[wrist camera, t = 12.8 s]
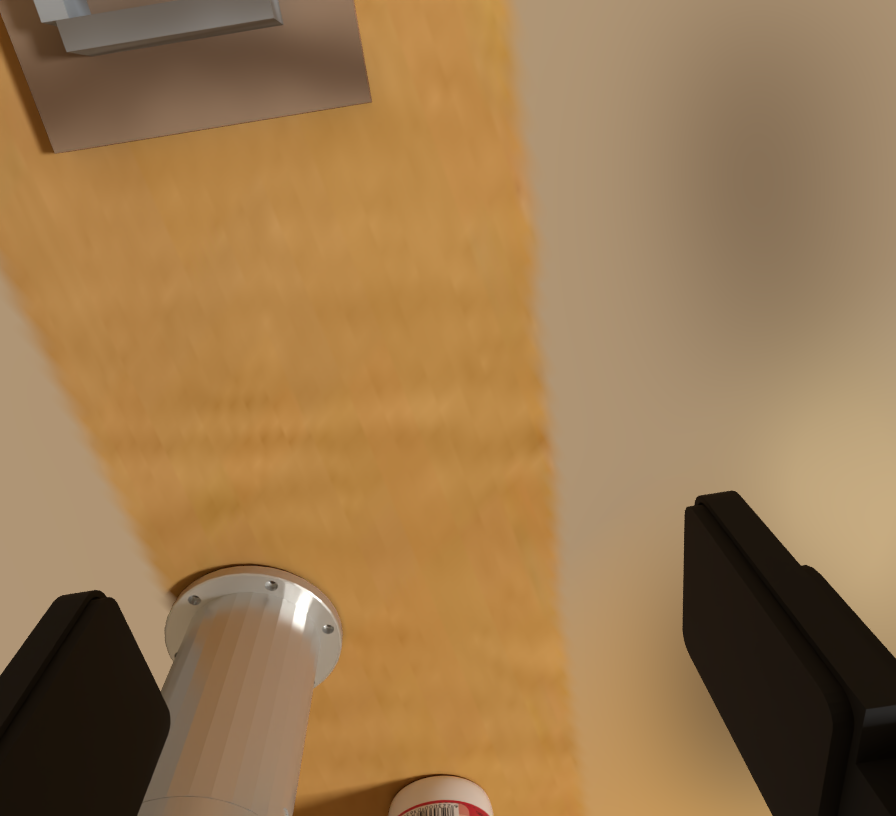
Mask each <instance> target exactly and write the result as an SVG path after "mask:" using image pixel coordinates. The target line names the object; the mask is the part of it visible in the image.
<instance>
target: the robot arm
mask: <svg viewBox="0 0 896 816" xmlns="http://www.w3.org/2000/svg"><path fill="white" fill-rule="evenodd" d="M342 636H343V632H342V625H341V620H340V618H339V615H338V613H337V611H336V609H335V607H334V606H333V604H332V603H331V602H330V600H329V599H328V598H327V597H326V596H325V595H324V594H323V593H322V592H321V591H320V590H319V589H318V588H317V587H315V586H314V585H312V584H311V583H309V582H308V581H306V580H305V579H303V578H300V577H298V576H296V575H294V574H291V573H289V572H286V571H282V570H278V569H275V568H270V567H261V566H236V567H230V568H225V569H220V570H217V571H215V572H212V573H209V574H206V575H204V576H203V577H201V578H199V579H197V580H196V581H194V582H192V583H191V584H190V585H189V586H188V587H187V588H186V589H185V590H183V591H182V592H181V594H180V595H179V597H178V598H177V599H176V601H175V602H174V604H173V606H172V609H171V611H170V613H169V615H168V617H167V621H166V626H165V643H166V646H167V649H168V653H169V655H170V657H171V659H172V660H173V664H172V667H171V669H170V671H169V674H168V676H167V678H166V681H165V683H164V685H163V688H162V690H161V692H160V690H159V688H158V686H157V684H156V682H155V679H154V677H153V675H152V673H151V671H150V669H149V667H148V665H147V663H146V661H145V659H144V657H143V655H142V653H141V651H140V649H139V647H138V645H137V643H136V641H135V639H134V636H133V634H132V632H131V630H130V628H129V626H128V624H127V622H126V620H125V618H124V616H123V614H122V612H121V610H120V608H119V606H118V604H117V602H116V601H115V599H113V598H110V597H106V596H105V594H104V593H103V592H101V591H98V590H94V591H87V592H80V593H74V594H68V595H62V596H60V597H58V598H57V599H56V600H55V601H54V602H53V603H52V605H51V606H50V607H49V609H48V610H47V612H46V613H45V614H44V616H43V617H42V618H41V620H40V621H39V623H38V624H37V625H36V627H35V628H34V630H33V631H32V632H31V634H30V635H29V636H28V638H27V639H26V641H25V642H24V643H23V645H22V646H21V648H20V649H19V650H18V652H17V653H16V655H15V656H14V658H13V659H12V660H11V662H10V663H9V664H8V666H7V667H6V668H5V670H4V671H3V673H2V674H1V675H0V816H293V810H294V804H295V798H296V792H297V786H298V779H299V773H300V767H301V761H302V755H303V749H304V743H305V736H306V730H307V724H308V718H309V712H310V706H311V699H312V693H313V689H314V688H315V687H316V686H318V685H319V684H320V683H321V682H323V681H324V680H325V679H326V678H327V677H328V676H329V674H330V673H331V672H332V671H333V669H334V667H335V665H336V664H337V662H338V660H339V656H340V652H341V647H342ZM683 637H684V641H685V645H686V648H687V651H688V653H689V655H690V657H691V659H692V661H693V663H694V665H695V666H696V668H697V670H698V672H699V674H700V676H701V678H702V680H703V682H704V684H705V686H706V688H707V690H708V692H709V693H710V695H711V697H712V699H713V701H714V703H715V705H716V707H717V709H718V711H719V713H720V715H721V717H722V719H723V720H724V722H725V725H726V726H727V728H728V730H729V732H730V734H731V736H732V738H733V740H734V742H735V744H736V746H737V748H738V749H739V751H740V753H741V755H742V757H743V759H744V761H745V763H746V765H747V766H748V769H749V771H750V773H751V775H752V777H753V779H754V781H755V782H756V784H757V786H758V788H759V790H760V792H761V794H762V796H763V798H764V800H765V802H766V804H767V806H768V807H769V809H770V811H771V813H772V815H773V816H896V658H895V657H894V656H893V655H892V654H891V653H890V652H889V651H888V650H887V648H886V647H885V646H884V645H883V644H882V643H881V642H880V641H879V639H878V638H877V637H876V636H875V635H874V634H873V633H872V632H871V630H870V629H869V628H868V627H867V626H866V625H865V624H864V622H862V620H861V619H860V618H859V617H858V616H857V615H856V613H855V612H854V611H853V610H852V609H851V608H850V607H849V606H848V605H847V604H846V602H845V601H844V600H843V599H842V598H841V597H840V596H839V594H838V593H837V592H836V591H835V590H834V589H833V588H832V587H831V586H830V584H829V583H828V582H827V581H826V580H825V579H824V578H823V576H822V575H821V574H820V573H818V572H817V571H816V570H815V569H814V568H812V567H810V566H807V565H803V566H801V565H800V564H799V563H798V562H797V561H796V560H795V558H794V557H793V556H792V555H791V554H790V553H789V551H787V549H786V548H785V547H784V546H783V545H782V543H781V542H780V541H779V540H778V539H777V538H776V537H775V535H774V534H773V533H772V532H771V531H770V529H769V528H768V527H767V526H766V525H765V524H764V523H763V521H762V520H761V519H760V518H759V517H758V516H757V514H756V513H755V512H754V511H753V510H752V509H751V508H750V507H749V505H748V504H747V503H746V502H745V501H744V499H743V498H742V497H741V496H740V495H739V494H738V493H737V492H735V491H727V492H720V493H714V494H708V495H701V496H698V497H697V498H696V500H695V505H694V506H690V507H687V508H686V510H685V528H684V580H683Z"/></svg>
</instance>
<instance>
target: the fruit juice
mask: <svg viewBox="0 0 896 816" xmlns="http://www.w3.org/2000/svg"><path fill="white" fill-rule="evenodd" d="M388 816H493V811H492V807H491V803H490V800H489V798H488V796H487V794H486V793H485V791H484V790H483V789H482V788H481V787H480V786H478V785H477V784H475V783H474V782H472V781H469V780H467V779H464V778H460V777H455V776H433V777H427V778H423V779H420V780H417V781H415V782H413V783H411V784H409V785H407V786H406V787H404V788H403V789H402V790H401V791H399V792H398V793H397V795H396V796H395V797H394V799H393V801H392V803H391V806H390V809H389V814H388Z"/></svg>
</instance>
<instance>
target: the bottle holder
mask: <svg viewBox="0 0 896 816" xmlns="http://www.w3.org/2000/svg"><path fill="white" fill-rule="evenodd" d="M0 13H1V16H2V18H3V21H4V23H5V26H6V29H7V31H8V34H9V36H10V39H11V42H12V44H13V47H14V49H15V52H16V54H17V57H18V60H19V62H20V65H21V67H22V70H23V73H24V75H25V78H26V80H27V83H28V85H29V88H30V91H31V93H32V96H33V98H34V101H35V104H36V106H37V109H38V111H39V114H40V116H41V119H42V122H43V124H44V127H45V129H46V132H47V134H48V137H49V140H50V142H51V145H52V147H53V150H54V153H63V152H70V151H76V150H82V149H88V148H94V147H100V146H106V145H113V144H119V143H125V142H131V141H137V140H143V139H149V138H155V137H162V136H168V135H174V134H180V133H186V132H192V131H198V130H204V129H210V128H217V127H223V126H229V125H235V124H241V123H247V122H253V121H259V120H266V119H272V118H278V117H284V116H290V115H296V114H302V113H308V112H314V111H321V110H327V109H333V108H339V107H345V106H351V105H357V104H363V103H370V102H372V99H371V94H370V88H369V83H368V77H367V71H366V66H365V60H364V55H363V49H362V44H361V38H360V32H359V27H358V21H357V16H356V10H355V4H354V0H0Z"/></svg>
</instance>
